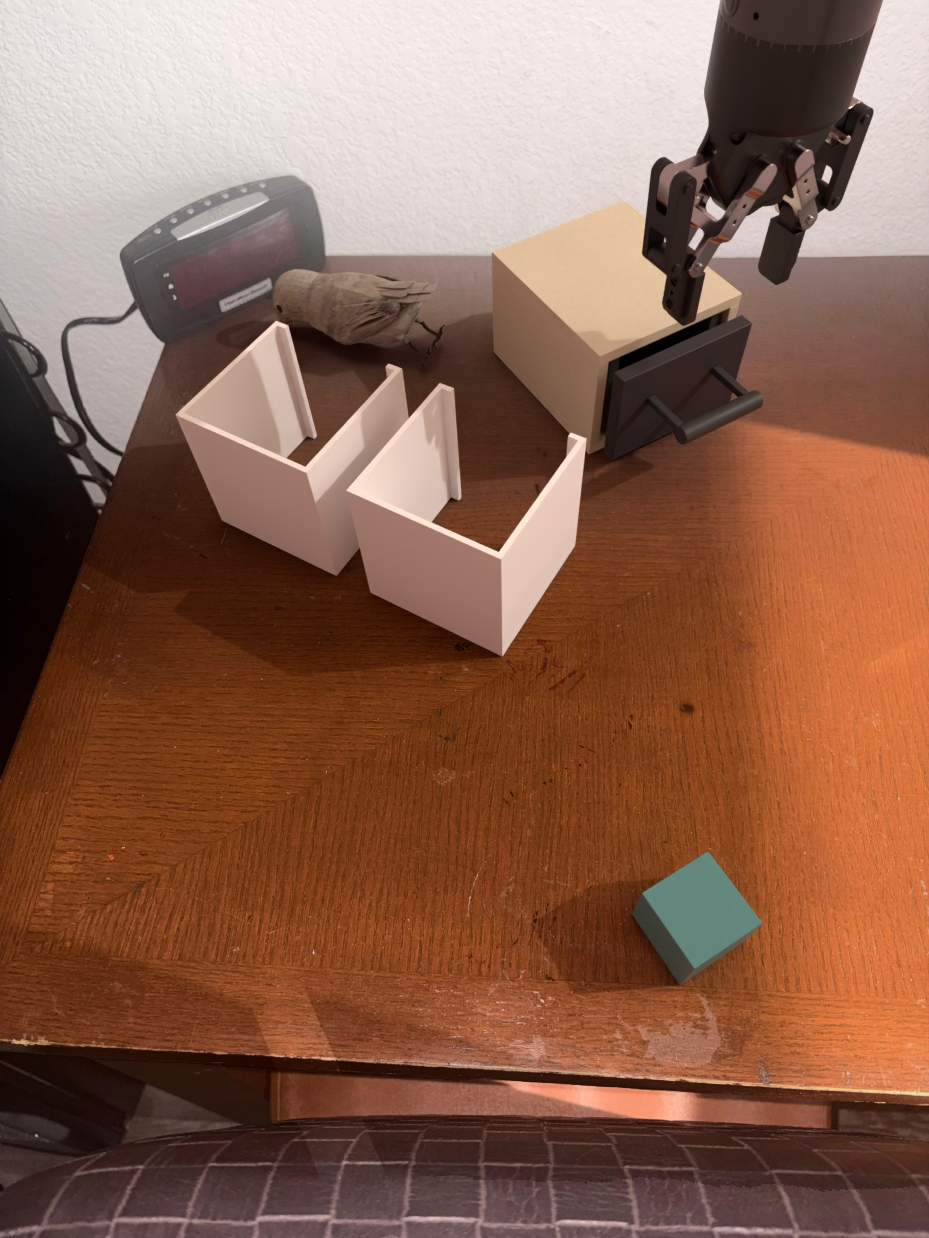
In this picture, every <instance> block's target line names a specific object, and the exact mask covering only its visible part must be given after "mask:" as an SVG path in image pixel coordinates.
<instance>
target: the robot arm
mask: <svg viewBox="0 0 929 1238" xmlns="http://www.w3.org/2000/svg"><path fill="white" fill-rule="evenodd" d="M883 2H884V0H719V4H718V9H717V16H716V21H715V26H714V31H713V38H712V43H711V49H710V53H709V60H708V65H707V71H706V77H705V81H704V87H703V98H704V103H705V107H706V115H707V121H708V124H707V129H706V131H705V134H704V136H703V138H702V141H701V142H700V144H699V146H698V147H697V150H696V154H695V155H693V156H690V157H688V158H685V159H684V160H681V161H679V162H677V163H675V162H674V161H672V160H671V159H670V158H668V157H667V156H661V157H659V158H658V159H656V161H654V163H653V164H652V166H651V169H650V175H649V184H648V194H647V201H646V202H647V203H646V211H645V217H646V220H645V229H644V238H643V247H642V255H643V257H645V258H646V259H647V260H648V261H649V262H651V263H652V264H653V265H654V266H655V267H657V268H658V269H659V270H660V271H662V272H663V273H664V274H665V275H666V282H665V288H664V289H665V290H664V293H663V294H664V295H663V299H662V306H663V309H664V310H665V311H667V313H668V314H669V315H670V316H671V317H672V318H674V319H675V320H676V321H677V322H678V323H679V324H680V325H682V326H685V325H688V324H690V323H692V322H694V321H695V320H696V315H697V311H698V306H699V302H700V297H701V292H702V288H703V283H704V279H705V274H706V273H705V272H704V270H705V268H706V266H708V265H709V263H710V262H711V260H712V258H713V256H714V255H715V253H716V252H717V250H718V249H719V247H720V246H721V245H722V244H723V243H724V244H725V243H729V242H730V241H732V239H733V237H735V235H736V233H737V232H738V229H740V227H741V225H742V223H743V222H744V220H745V219H746V218H747V217H749V216H751V215H753V214H754V213H755V212H757V211H759V210H760V209H762V208H763V207H774V210H775V211H776V212H777V213H778V214H777V215H775V216H773V217H770V219H769V222H768V227H767V230H766V234H765V237H764V241H763V244H762V249H761V253H760V256H759V260H758V263H757V269H758V272H759V274H760V275H762V277H764V278H765V279H766V280H768V281H769V282H770V283H772V284H773V285H775V286H778V285H780V284H783V283H785V282H787V281H789V279H790V276H791V272H792V270H793V268H794V266H795V265H796V263H797V261H798V256H799V253H800V251H801V250H800V249H801V247H802V244H803V241H804V237H805V234H806V231H807V230H809V229H810V228H812V227H813V226H814V225H815V223H816V221H817V219H818V217H819V214H820V213H821V212H822V211H823V210H826V211H828V212H832V211H833V212H834V210H836V209H837V208H838V207H839V206H840V205H841V203H842V201H843V199H844V196H845V194H846V191H847V188H848V185H849V183H850V180H851V177H852V174H853V172H854V169H855V166H856V164H857V160H858V158H859V155H860V153H861V149H862V147H863V144H864V141H865V139H866V136H867V133H868V131H869V128H870V125H871V123H872V119H873V117H874V113H875V112H874V108H873V107H871V106H869V105H867V104H866V103H864V102H863V101H862V100H860V99H858V98H856V97H854V94H855V91H856V87H857V85H858V81H859V79H860V74H861V72H862V68H863V66H864V62H865V59H866V56H867V52H868V50H869V46H870V44H871V41H872V38H873V34H874V30H875V27H876V25H877V22H878V18H879V15H880V13H881V8H882V6H883ZM827 167H829V168H830V169H831V176H830V178H829V182H827V181H825V180H824V179H823V176H824V174H825V171H826V168H827ZM710 199H711V201H712V202H713V203H714V205H716V206H718V207H719V208H720V209H721V210H722V211H724V214H723V215H722V216H721V218H719V219H718V218H716V217H715V216H714V215H712V214H711V213H709V212H708V210H707V204H708V202H709V200H710ZM699 229H700V230H701V231H702V233H703V235H702V237H701V238H700V241H699V242H698V243H697V246H696V248H695V249H694V248H693V247H691V246H690V244H691V242H692V240H693V238H694V237H695V235H696V233H697V232H698V230H699ZM664 239H665V240H666V242H664Z"/></svg>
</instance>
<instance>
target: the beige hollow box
mask: <svg viewBox="0 0 929 1238" xmlns="http://www.w3.org/2000/svg"><path fill="white" fill-rule="evenodd" d="M645 220H646V216H645V215H643V214H642V213H641V212H639V211H638V210H637V209H636V208H634V207H633V206H632V205H630V204H629V203H628V202H627V201H625V200H621V201H618V202H616V203H613V204H611V205H608V206H606V207H603V208H601V209H597V210H595V211H594V212H590V213H588V214H585V215H582V216H580V217H578V218H575V219H572V220H570V221H567V222H566V223H563V224H560V225H557V226H554V227H552V228H550V229H547V230H544V231H542V232H539V233H536V234H534V235H532V236H529V237H527V238H524V239H521V240H519V241H516V242H514V243H511V244H509V245H505V246H504V247H501V248H498V249H496V250H493V251H492V252H491V280H492V283H491V285H492V286H491V287H492V332H493V333H492V335H493V337H492V338H493V339H492V340H493V353H494V354H495V355H496V356H497V357H498V358H499V360H501V361H502V362H503V364H504V365H505V366H506V367H507V368H508V369H509V370H510V372H512V373H513V375H514V376H515V377H516V378H517V379H518V380H519V381H520V382H521V383H522V384H523V386H525V388H526V389H527V390H528V391H529V392H530V393H531V394H532V395H533V396H534V397H535V398H536V400H537V401H539V403H540V404H541V405H542V406H543V407H544V408H545V409H546V410H547V411H548V412H549V413H550V414H551V415H552V416H553V418H554V419H555V420H556V421H557V422H558V423H559V424H560V425H561V426H562V427H563V429H565V430H566V432H567V433H568V435H569V434H570V433H573V434H576V435H579V436H581V437H584V438H586V449H585V453H587V454H588V455H591V454H593V453H595V452H597V451H599V450H602V449H604V446H605V438H606V431H605V432H603V433H601V432H600V429H601V421H602V412H603V404H604V396H605V388H606V380H607V372H608V363H609V361H611V360H614V359H616V358H618V357H620V356H623V355H625V354H627V353H629V352H632V351H634V350H636V349H638V348H641V347H643V346H645V345H647V344H650V343H652V342H654V341H656V340H659V339H661V338H663V337H665V336H668V335H670V334H672V333H674V332H677V331H679V330H681V329H683V328H686V327H688V326H690V325H692V324H695V323H697V322H699V321H701V320H704V319H706V318H708V317H710V316H713V315H715V314H717V313H719V312H720V314H719V318H718V322H717V326H718V325H721V324H723V323H725V322H727V321H730V320H732V319H734V318H736V317H737V313H738V310H739V305H740V304H741V303H740V302H741V299H742V296H743V293H742V292H741V291H740V290H738V289H737V288H736V287H734V286H733V285H732V284H730V283H729V282H728V281H727V280H725V279H724V278H723V277H721V276H720V275H719V274H718V273H717V272H715V271H714V270H713V269H712V268H710V267H709V266H708V265H707V266H706V268H705V270H704V272H705V273H706V274H705V279H704V283H703V288H702V292H701V297H700V302H699V306H698V311H697V315H696V320H695V321H694V322H692V323H690V324H688V325H685V326H682V325H680V324H679V323H678V322H677V321H676V320H675V319H674V318H672V317H671V316H670V315H669V314H668V313H667V311H665V310H664V309H663V306H662V299H663V295H664V294H663V293H664V290H665V289H664V288H665V282H666V275H665V274H664V273H663V272H662V271H660V270H659V269H658V268H657V267H655V266H654V265H653V264H652V263H651V262H649V261H648V260H647V259H646V258H645V257H643V255H642V247H643V238H644V229H645ZM664 242H666V240H665V239H664Z"/></svg>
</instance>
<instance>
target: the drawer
mask: <svg viewBox="0 0 929 1238" xmlns="http://www.w3.org/2000/svg"><path fill="white" fill-rule="evenodd" d="M719 314H720V312H719V313H717V314H715V315H713V316H710V317H708V318H706V319H704V320H701V321H699V322H697V323H695V324H692V325H690V326H688V327H686V328H683V329H681V330H679V331H677V332H674V333H672V334H670V335H668V336H665V337H663V338H661V339H659V340H656V341H654V342H652V343H650V344H647V345H645V346H643V347H641V348H638V349H636V350H634V351H632V352H629V353H627V354H625V355H623V356H620V357H618V358H616V359H614V360H611V361H609V363H608V372H607V380H606V388H605V396H604V404H603V412H602V421H601V429H600V432H601V433H603V432H605V431H606V438H605V446H604V448H603V452H604V453H605V454H606V455H607V457H609V458H610V459H611V461H614V460H616V459H618V458H620V457H622V456H624V455H626V454H629V453H631V452H633V451H634V450H637V449H639V448H641V447H643V446H645V445H647V444H649V443H651V442H654V441H655V440H658V439H660V438H662V437H664V436H667V435H668V434H671V433H672V432H673V433H674V438H675V440H676V441H677V443H679V444H680V445H682V446H685V445H687V444H689V443H691V442H693V441H695V440H698V439H700V438H701V437H703V436H706V435H708V434H710V433H711V432H713V431H716V430H718V429H720V428H722V427H724V426H725V425H728V424H730V423H733V422H735V421H736V420H738V419H741V418H743V417H744V416H747V415H749V414H751V413H753V412H755V411H757V410H759V409H761V408H762V407H763V405H764V398H763V395H762V394H761V392H760V391H758V390H757V389H752V390H750V391H749V390H748V389H747V388H745V387H744V386H743V385H742V384H741V383H740V382H739V381H738V380H737V378H738V375H739V371H740V367H741V364H742V361H743V357H744V354H745V353H744V352H745V351H746V346H747V343H748V340H749V336H750V333H751V329H752V326H753V323H752V321H750V320H749V319H748V318H747V317H745V316H744V315H742V314H741V315H739V316H736V317H735V318H734V319H732V320H730V321H727V322H725V323H723V324H721V325H718V326H717V322H718V318H719ZM733 395H735V397H736V398H734V399H732V396H733ZM731 399H732V400H731Z"/></svg>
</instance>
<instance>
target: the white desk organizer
mask: <svg viewBox="0 0 929 1238" xmlns="http://www.w3.org/2000/svg"><path fill="white" fill-rule="evenodd" d="M385 372H386V379H385V380H384V381H383V382H382V383H381V384H380V385H379V386H378V387H377V389H375V391H374V392H373V393H372V394H371V395H370V396H369V397H368V398H367V399H366V400H365V401H364V403H362V405H361V406H360V407H359V408H358V409H357V410H356V411H355V412H354V413H353V415H352V416H350V418H349V419H348V420H347V421H346V422H345V423H344V424H343V425H342V427H340V428H339V430H338V431H337V432H336V433H335V434H334V435H333V436H332V437H331V438H330V440H329V441H327V443H326V444H325V445H324V446H323V447H322V448H321V449H320V450H319V451H318V452H317V454H315V456H314V457H313V458H312V459H311V460H310V461H309V462H308V463H307V464H306V465H302V464H300V463H299V462H295V461H293V460H291V459H289V458H288V457H289V456H290V455H291V454H292V453H293V452H294V451H295V450H296V449H297V448H298V447H299V446H300V445H301V443H302V442H303V441H305V439H306V438H307V437H309V438H311V439H313V440H315V439H316V438H317V437H318V433H317V430H316V427H315V423H314V419H313V415H312V411H311V407H310V403H309V400H308V396H307V391H306V388H305V383H304V381H303V376H302V373H301V368H300V365H299V361H298V358H297V353H296V350H295V346H294V342H293V338H292V335H291V331H290V327H289V324H283V323H281V322H280V321H278V320H275V321H274V322H273V323H272V324H271V325H270V326H269V327H268V328H267V329H266V330H264V331H263V332H262V333H261V334H260V335H259V336H258V337H257V338H256V339H255V340H254V341H253V342H251V343H250V344H249V346H247V347H246V348H245V349H244V350H243V351H242V352H241V353H240V354H239V355H238V356H237V357H236V358H235V359H233V360H232V361H231V362H230V363H229V364H228V365H227V366H226V367H225V368H224V369H222V370H221V372H220V373H218V374H217V375H216V376H215V377H214V378H213V379H212V380H211V381H210V382H208V383H207V384H206V386H204V387H203V388H202V389H201V390H200V391H199V392H198V393H197V394H196V395H194V397H192V399H190V400H189V401H188V402H187V403H186V404H185V405H184V406H183V407H182V408H181V409H180V410H179V411H178V412H176V413H175V417H176V420H177V422H178V424H179V426H180V429H181V431H182V433H183V436H184V437H185V440H186V442H187V444H188V447H189V449H190V451H191V453H192V456H193V459H194V460H195V462H196V465H197V468H198V469H199V472H200V474H201V476H202V478H203V481H204V483H205V485H206V488H207V490H208V492H209V495H210V497H211V499H212V501H213V504H214V505H215V508H216V510H217V512H218V515H219V518H220V519H221V521H222V522H223V523H226V524H228V525H230V526H231V527H234V528H237V529H239V530H240V531H242V532H245V533H247V534H249V535H250V536H253V537H255V538H257V539H259V540H261V541H263V542H265V543H267V544H269V545H271V546H273V547H276V548H278V549H279V550H281V551H283V552H285V553H288V554H290V555H292V556H294V557H296V558H298V559H300V560H302V561H304V562H307V563H309V564H311V565H312V566H314V567H317V568H319V569H321V570H323V571H325V572H327V573H329V574H331V575H333V576H335V577H337V576H339V574H340V573H341V572H342V570H343V569H344V567H345V566H346V565H347V564H348V563H349V561H350V560H351V559H352V558H353V557H354V556H355V554H357V551H359V550H360V555H361V559H362V563H363V567H364V571H365V572H364V573H365V576H366V580H367V584H368V588H369V592H370V594H372V595H374V596H376V597H378V598H381V599H383V600H385V601H387V602H389V603H391V604H393V605H395V606H397V607H399V608H401V609H402V610H406V611H408V612H409V613H412V614H414V615H416V616H417V617H420V618H422V619H424V620H426V621H427V622H430V623H432V624H434V625H437V626H439V627H440V628H443V629H444V630H446V631H448V632H450V633H453V634H455V635H457V636H459V637H461V638H463V639H464V640H467V641H469V642H472V643H473V644H475V645H478V646H479V647H481V648H483V649H486V650H488V651H490V652H492V653H493V654H496V655H498V656H500V657H504V655H505V653H506V652H507V651H508V649H509V647H510V646H511V644H512V643H513V641H514V640H515V638H516V637H517V635H518V634H519V632H520V631H521V629H522V628H523V626H524V624H526V622H527V620H528V619H529V617H530V615H531V614H532V612H534V609H535V608H536V606H537V605H538V603H539V602H540V601H541V599H542V597H543V596H544V594H545V593H546V592H547V589H548V588H549V586H550V585H551V584H552V582H553V580H554V579H555V577H556V576H557V575H558V573H559V571H560V570H561V568H562V567H563V565H564V563H565V562H566V561H567V559H568V558H569V556H570V554H571V553H572V551H573V550H574V548H575V547H576V541H577V532H578V522H579V513H580V504H581V495H582V484H583V477H584V476H583V475H584V467H585V457H586V451H585V449H586V438H584V437H581V436H579V435H576V434H573V433H570V434H569V433H568V436H567V442H566V455H565V458H564V459H563V461H562V462H561V464H560V465H559V467H558V468H557V469H556V471H555V472H554V474H553V475H552V477H551V478H550V479H549V481H548V482H547V484H546V485H545V486H544V488H543V489H542V490H541V492H540V493H539V495H538V496H537V498H536V499H535V500H534V502H533V503H532V504H531V506H530V507H529V509H528V510H527V512H526V513H525V515H524V516H523V517H522V519H521V520H520V522H519V523H518V524H517V525H516V527H515V529H513V530H512V533H511V534H510V535H509V537H508V539H507V540H505V543H504V544H503V545H502V547H501V548H500V550H499V551H497V550H495V549H493V548H490V547H488V546H486V545H484V544H481V543H479V542H477V541H475V540H472V539H470V538H468V537H466V536H464V535H461V534H459V533H457V532H454V531H452V530H449V529H447V528H445V527H443V526H441V525H438V524H436V523H434V522H433V521H434V520H435V518H436V517H438V514H440V512H441V511H442V510H443V508H444V507H445V506H446V505H447V503H448V502H449V500H450V499H451V498H452V499H453V500H456V501H460V500H461V499H462V486H461V484H462V483H461V469H460V455H459V441H458V440H459V439H458V426H457V412H456V397H455V388H454V387H452V386H450V385H447V384H443V383H442V382H438V384H437V386H436V387H435V388H434V389H433V390H432V391H431V392H430V393H429V394H428V396H427V397H426V398H425V399H424V400H423V401H422V403H421V404H420V405H419V406H418V407H417V408H416V409H415V410H414V412H413V413H412V414H411V415H410V416H409V409H408V403H407V395H406V388H405V380H404V371H403V368H401V367H399V366H397V365H393V364H391V363H387V364H386V366H385Z"/></svg>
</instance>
